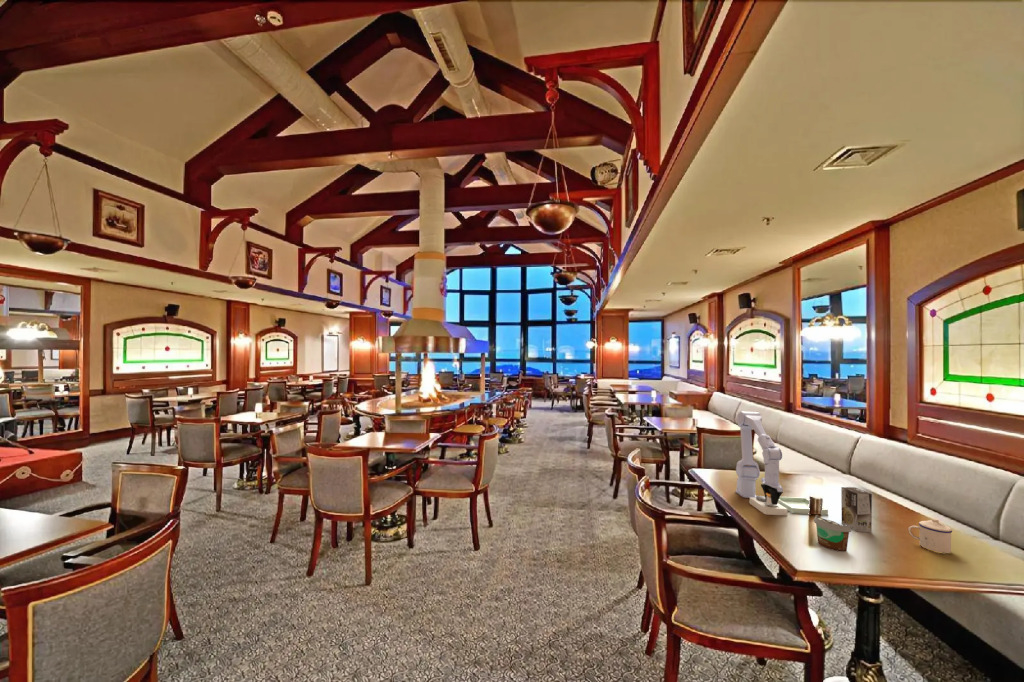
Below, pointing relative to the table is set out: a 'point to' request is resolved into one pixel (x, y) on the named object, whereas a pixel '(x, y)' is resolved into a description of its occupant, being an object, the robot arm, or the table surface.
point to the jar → (769, 500)
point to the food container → (832, 534)
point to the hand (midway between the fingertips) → (771, 502)
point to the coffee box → (856, 509)
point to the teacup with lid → (934, 535)
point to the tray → (798, 505)
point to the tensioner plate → (761, 506)
